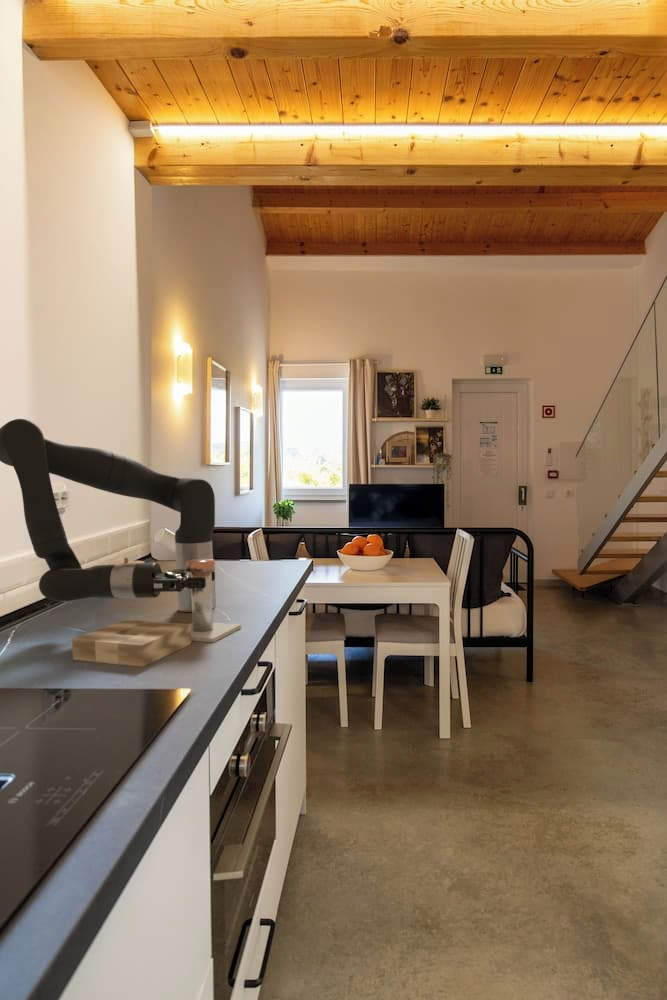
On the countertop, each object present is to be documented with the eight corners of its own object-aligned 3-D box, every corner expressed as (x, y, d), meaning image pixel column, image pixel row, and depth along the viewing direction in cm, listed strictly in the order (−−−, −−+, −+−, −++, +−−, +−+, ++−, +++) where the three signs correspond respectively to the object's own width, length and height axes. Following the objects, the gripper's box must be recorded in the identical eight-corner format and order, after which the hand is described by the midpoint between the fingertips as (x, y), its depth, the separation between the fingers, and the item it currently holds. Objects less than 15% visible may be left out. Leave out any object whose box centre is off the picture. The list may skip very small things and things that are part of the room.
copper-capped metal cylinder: (198, 625, 147) (196, 558, 146) (222, 627, 145) (219, 559, 144) (183, 631, 141) (181, 562, 141) (207, 633, 139) (205, 563, 138)
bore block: (126, 638, 141) (125, 619, 140) (191, 643, 135) (190, 624, 135) (73, 659, 126) (71, 639, 125) (143, 666, 120) (142, 645, 120)
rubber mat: (194, 624, 151) (194, 621, 151) (241, 628, 147) (241, 624, 147) (164, 638, 140) (163, 634, 140) (213, 642, 136) (213, 638, 136)
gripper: (123, 568, 136) (201, 567, 135) (146, 558, 150) (216, 557, 149) (125, 604, 136) (203, 603, 136) (147, 591, 151) (218, 589, 150)
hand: (210, 579), depth 143 cm, fingers open, 8 cm apart
